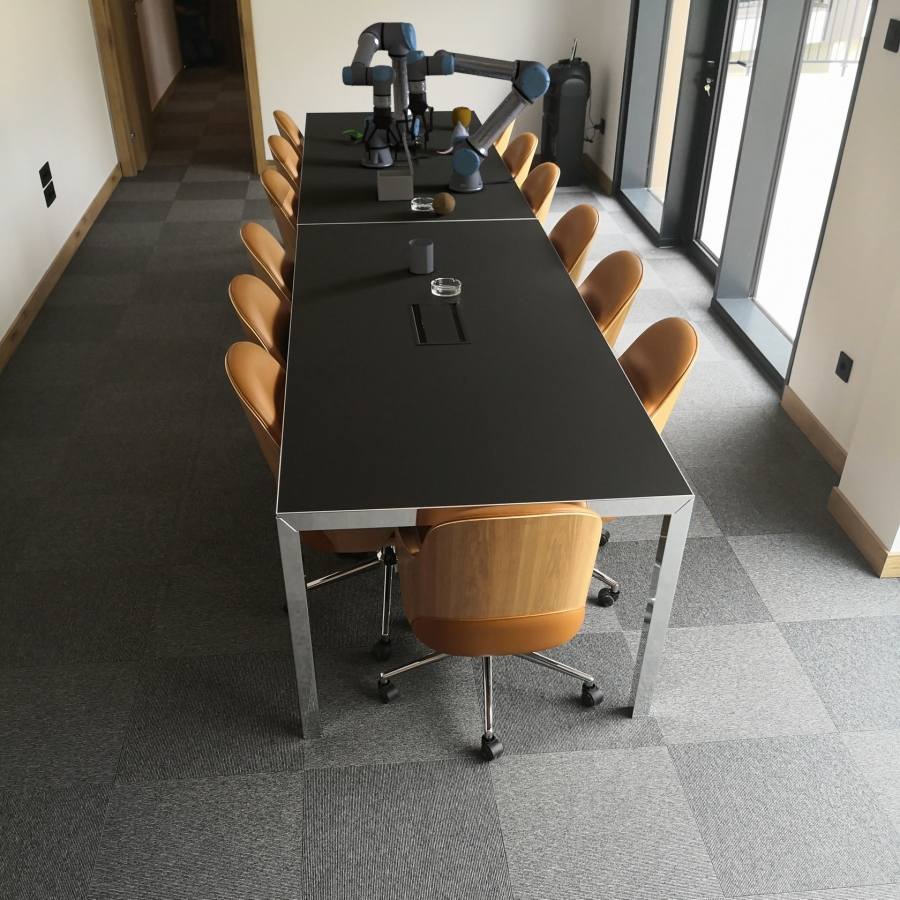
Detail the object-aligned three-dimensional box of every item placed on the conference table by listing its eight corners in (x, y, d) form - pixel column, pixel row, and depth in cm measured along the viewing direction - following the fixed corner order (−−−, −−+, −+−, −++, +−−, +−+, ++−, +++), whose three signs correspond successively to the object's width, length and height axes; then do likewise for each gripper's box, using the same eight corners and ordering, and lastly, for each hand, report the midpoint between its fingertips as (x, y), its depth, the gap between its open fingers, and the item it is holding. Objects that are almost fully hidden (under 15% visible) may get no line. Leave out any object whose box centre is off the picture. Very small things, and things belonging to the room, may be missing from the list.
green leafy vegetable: (396, 126, 467) (340, 124, 465) (396, 141, 460) (339, 139, 458) (396, 136, 472) (341, 134, 470) (396, 151, 465) (340, 149, 463)
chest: (378, 200, 378) (377, 177, 372) (378, 193, 386) (377, 170, 380) (413, 199, 379) (412, 176, 373) (412, 192, 387) (411, 169, 381)
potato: (453, 208, 369) (453, 189, 365) (456, 218, 357) (456, 199, 353) (431, 208, 368) (430, 189, 364) (432, 218, 356) (432, 199, 352)
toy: (474, 152, 449) (475, 122, 441) (443, 160, 434) (443, 129, 426) (462, 149, 454) (462, 119, 446) (430, 157, 439) (430, 126, 431)
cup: (409, 265, 311) (408, 238, 306) (432, 265, 312) (431, 238, 307) (410, 274, 304) (409, 246, 299) (433, 273, 305) (433, 246, 299)
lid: (402, 138, 364) (423, 133, 364) (401, 132, 372) (422, 127, 372) (411, 175, 373) (431, 170, 372) (410, 168, 381) (430, 163, 380)
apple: (471, 132, 486) (471, 108, 479) (451, 132, 486) (451, 108, 479) (470, 128, 495) (471, 104, 488) (452, 128, 495) (452, 104, 488)
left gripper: (354, 107, 358) (355, 161, 370) (410, 108, 360) (409, 162, 372) (354, 103, 364) (356, 157, 376) (409, 104, 366) (409, 157, 378)
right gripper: (397, 94, 356) (401, 153, 368) (437, 92, 357) (440, 150, 369) (396, 91, 362) (400, 148, 375) (436, 88, 363) (439, 146, 375)
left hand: (382, 159), depth 374 cm, fingers open, 11 cm apart
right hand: (420, 149), depth 372 cm, fingers open, 4 cm apart
